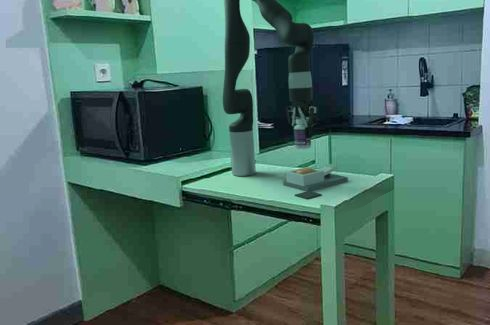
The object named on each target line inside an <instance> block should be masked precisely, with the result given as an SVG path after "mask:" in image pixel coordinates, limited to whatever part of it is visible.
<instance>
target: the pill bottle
mask: <svg viewBox="0 0 490 325" xmlns="http://www.w3.org/2000/svg"><path fill="white" fill-rule="evenodd" d="M307 122H308V123H309V121H308V120H307ZM296 124H297V125H296V126H295V127H294V133H295V137H294V147H295V149H297V150H307V149H311V147H312V138H309V139H306V138H305V124H304V121H302V119H296Z"/></svg>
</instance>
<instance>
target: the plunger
mask: <svg viewBox="0 0 490 325" xmlns="http://www.w3.org/2000/svg"><path fill="white" fill-rule="evenodd" d="M314 169H315V168H311V167H307V168H306V167H302V168H301V167H300V168H297V169H295V170H296V173H298V174H302V175H305V174H309V173H313V172H314Z"/></svg>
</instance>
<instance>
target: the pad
mask: <svg viewBox="0 0 490 325" xmlns="http://www.w3.org/2000/svg"><path fill="white" fill-rule="evenodd" d="M294 196H295V197H297V198H301V199H304V200H310V199H313V198H317V197H321V196H323V194H322V193H319V192H316V191H302V192H299V193H296V194H294Z"/></svg>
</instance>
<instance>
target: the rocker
mask: <svg viewBox="0 0 490 325" xmlns="http://www.w3.org/2000/svg"><path fill="white" fill-rule="evenodd" d="M338 169H339V166H338V164H337V165H336V164H333V163H329V164H327V165H325V166H323V167H320V168H319V169H318V170H322V171H324V176H325V175H327V174H329V173H331V174H332V172H334V171H337V170H338Z"/></svg>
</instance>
